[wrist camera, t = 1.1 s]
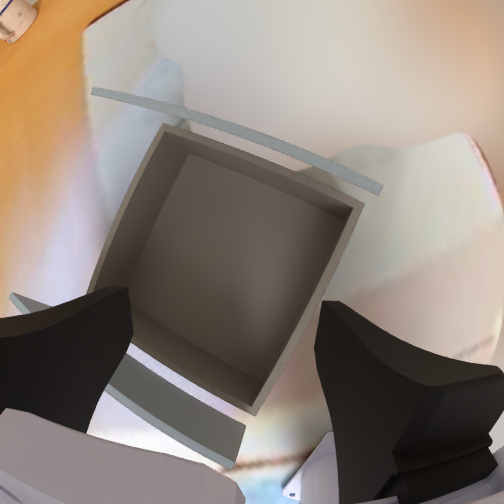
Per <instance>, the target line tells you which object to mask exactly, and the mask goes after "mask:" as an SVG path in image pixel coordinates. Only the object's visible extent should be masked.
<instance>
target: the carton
mask: <svg viewBox="0 0 504 504" xmlns="http://www.w3.org/2000/svg"><path fill="white" fill-rule="evenodd" d="M363 207H364V203H362V202H360V201H358V200H356V199H354V198H352V197H350V196H348V195H346V194H344V193H342V192H339V191H337V190H335V189H333V188H331V187H329V186H326V185H324V184H322V183H320V182H318V181H315V180H313V179H311V178H309V177H306V176H304V175H302V174H299V173H297V172H295V171H292V170H290V169H288V168H285V167H283V166H280V165H278V164H275V163H273V162H270V161H268V160H266V159H263V158H261V157H258V156H255V155H253V154H250V153H248V152H245V151H242V150H240V149H237V148H234V147H232V146H229V145H226V144H224V143H221V142H218V141H215V140H212V139H210V138H207V137H204V136H201V135H198V134H195V133H192V132H189V131H186V130H183V129H180V128H177V127H174V126H171V125H168V124H164V123H163V124H162V126H161V127H160V129H159V131H158V133H157V135H156V136H155V138H154V140H153V142H152V144H151V145H150V147H149V149H148V151H147V153H146V155H145V157H144V159H143V161H142V163H141V165H140V167H139V169H138V171H137V173H136V175H135V177H134V179H133V181H132V183H131V185H130V187H129V189H128V191H127V193H126V195H125V198H124V200H123V202H122V204H121V206H120V208H119V211H118V213H117V215H116V218H115V220H114V222H113V225H112V227H111V229H110V232H109V234H108V237H107V239H106V241H105V244H104V246H103V249H102V252H101V254H100V257H99V259H98V262H97V265H96V267H95V270H94V273H93V276H92V279H91V281H90V284H89V287H88V290H87V293H86V295H87V294H89V293H92V292H94V291H97V290H100V289H103V288H106V287H110V286H122V287H128V291H129V300H130V308H131V316H132V324H133V331H134V334H133V337H132V340H131V343H132V344H134V345H135V346H137V347H138V348H139V349H141V350H142V351H144V352H145V353H147V354H148V355H150V356H151V357H153V358H154V359H156V360H157V361H159V362H160V363H162V364H163V365H165V366H167V367H168V368H170V369H171V370H173V371H174V372H176V373H178V374H179V375H181V376H183V377H184V378H186V379H187V380H189V381H191V382H193V383H194V384H196V385H198V386H199V387H201V388H203V389H205V390H206V391H208V392H210V393H212V394H213V395H215V396H217V397H219V398H221V399H222V400H224V401H226V402H228V403H230V404H232V405H234V406H236V407H237V408H239V409H241V410H243V411H245V412H247V413H249V414H251V415H253V416H256V414H257V413H258V411H259V409H260V408H261V406H262V404H263V403H264V401H265V400H266V398H267V396H268V395H269V393H270V391H271V389H272V388H273V386H274V384H275V383H276V381H277V379H278V377H279V376H280V374H281V372H282V371H283V369H284V367H285V365H286V363H287V362H288V360H289V358H290V356H291V355H292V353H293V351H294V349H295V347H296V345H297V344H298V342H299V340H300V338H301V336H302V334H303V333H304V331H305V329H306V327H307V325H308V323H309V321H310V319H311V317H312V315H313V313H314V312H315V310H316V308H317V306H318V304H319V302H320V300H321V298H322V296H323V294H324V292H325V290H326V288H327V286H328V284H329V282H330V279H331V277H332V275H333V273H334V271H335V269H336V267H337V265H338V263H339V261H340V259H341V256H342V254H343V252H344V250H345V248H346V246H347V243H348V241H349V239H350V237H351V234H352V232H353V230H354V228H355V225H356V223H357V221H358V219H359V216H360V214H361V212H362V209H363Z"/></svg>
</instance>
